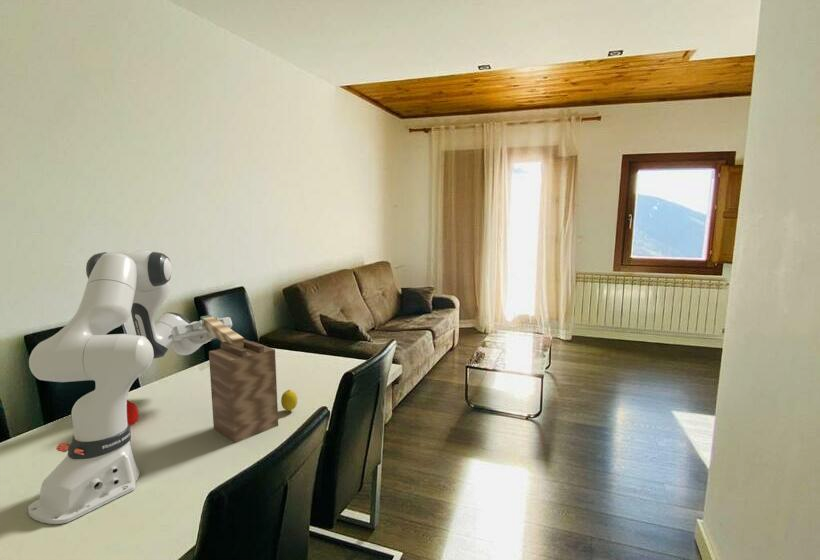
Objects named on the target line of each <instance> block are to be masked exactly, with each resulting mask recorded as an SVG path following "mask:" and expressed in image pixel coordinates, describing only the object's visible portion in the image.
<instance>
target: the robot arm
mask: <svg viewBox="0 0 820 560" xmlns="http://www.w3.org/2000/svg"><path fill="white" fill-rule="evenodd" d="M85 266H86V269H85V272H86V277H87V282H86V285H85V288H84V293H83V296H82V298H81V301H80V304H79V307H78V308H77V311H76V313H75V314H74V315H73V317H72V318H71V319H70V321H68V323H67V324H66V325H65V326H63V328H61V329H60V330H59V331H58V332H56V333H55V334H54V335H52V336H49V337H48V338H46V339H44V340H42V341H40V342H39V343H38V344H37V345H36V346H35V347H33V349H32V350H31V353H30V355H29V359H28V365H29V366H28V367H29V370H30V372H31V374H32V375H33V376H34V377H35V378H36V379H38V380H39V381H45V382H57V383H69V382H84V381H94V382H95V388H94V390H92V391H90V392H88V393H86V394H85V395H82V396H81V397H80V398H79V399H77V400H76V402H75V403H74V405H73V406H72V408H71V420H72V429H73V437H72V439H71V442H70V444H69V443H65V442H63V441H62V442H59V443H58V444H57V446H56V448H55V449H56V451H57V452H62V453H67V455H66V456H65V457H64V458H63V459H62V461H60V463H59V464H58V465H57V466H56V467H55V468H54V469H53V470H52V471H51V473H50V474H48V476H46V477H45V479H44V480H43V481H42V483H41V484H40V485H41V486H40V491H39V498H38V499H36V500H34V501H33V502H31V503H30V504H29V505H28V510H27V512H28V513H27V514H28V515H29V517H32V518H31V519H33V520H34V521H35V520H36V521H37V522H40V523H44V524H49V525H61V524H66V523H70V522H72V521H73V520H75V519H78V518H79V517H82V516H84V515H86V514H88V513H90V512H92V511H94V510H97V509H98V508H101V507H102V506H104V505H106V504H109V503H110V502H112V501H115V500H116V499H118V498H120V497H122V496H124V495H126V494H129V493H131V492H133V491H134V490H135V489H136V488H137V486H136V482H137V480H138V479H139V478H140V474H141V473H140V469H139V468H138V465H137V464H136V461H135V458H134V454H133V451H132V446H131V439H132V434H131V426H130V425H129V424H128V423H127V400H128V395H129V391H130V390H131V389H130V388H131V387H132V385H133V384H134V382H135V381H136V380H137V379H138V378H139V377H140V376H141V375H142V374H144V373H145V372H146V371H148V369H149V367H151V364H152V363H153V359H159V358H162V357H164V356H165V355H166V354H167V352H168V351H169V349H170V348H171V347H172V349H173V351H174V352H175V354H177V355H179V356H189V355H191V354H193V353H195V352H196V351H198V350H199V349H200V348H201V346H203V345H204V344H205V345H206V344H207V343H208V342H211V341H214V340H218V339H217V338H216V337H215V336H213V335H212V334H211V333H209V332H208V331H207V330H205V329H204V328H203V327H201V326H204V325H205V320H200V319H199V321H197V320H196V321H192V322H191V321H190V320H189V319H188V318H187V317H185V316H184V315H182V314H181V313H179V312H174V311H173V312H171V311H169V312H164V313H163V314H162V315H161V316H160V317H159V318H158V319H157V320H156V321H155V322H154V320H155V316H156V314H157V312H158V310H159V309H160V308H161V306H162V305H163V304H164V302H165V300H166V299H167V297H168V296H169V294H170V293H171V292H170V291H171V281H170V280H171V277H172V273H173V266H172V263H171V260H170V258H169V257H168V256H167V255H166V254H165V253H161V252H157V251H150V250H149V249H148V250H146V249H140V250H136V251H129V250H126V251H125V250H124V251H113V252H112V251H111V252H106V251H105V252H99V253H98V252H97V253H94V254H93V255H92V256H91V257H89V259H88V260H87V261H86V265H85ZM130 317H131V319H132V323H133V327H134V330H135V334H129V333H114V334H113V333H112V334H108V333H110V332H111V331H113V330H115V329H116V328H117V329H118V328H120V327H121V326H122V325H124V324H125V323H126V322H128V320H129V318H130ZM215 318H216V319H217V320H218V321H220V322H221V323H223V324H224V325H226V326H227V327H229V328H230V329H232V327H233V321H232V319H231V317H229V316H226V317H222V318H221V317H220V318H219V316H218V317H215Z"/></svg>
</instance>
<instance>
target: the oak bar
mask: <svg viewBox="0 0 820 560" xmlns="http://www.w3.org/2000/svg"><path fill="white" fill-rule="evenodd" d="M216 318H217V317H214V316H213V315H212V314H209V315H208V314H207V315H203V316H200V319H199V321H200V320H205V325H204V326H201V327H203V328H204V329H205V330H207V331H208V332H209V333H211V334H212V335H213V336H215V337H216V338H217V339H216V340H219V341H220V342H221V343H222V342H227V343H229V344H232V345H234V346H237V347H240V348H244V339H245V337H243V336H242V335H241V334H239V333H238V332H236V331H234V330H233V329H232V328H229V327H227V326H226V325H224V324H223V323H221V322H220V321H218V320H217V319H216Z"/></svg>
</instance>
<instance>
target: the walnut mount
mask: <svg viewBox="0 0 820 560" xmlns="http://www.w3.org/2000/svg"><path fill="white" fill-rule="evenodd" d="M219 345H220V348H218V349H213V350H209V351H208V358H209V359H208V360H209V374H210V375H209V376H210V391H211V404H212V405H211V407H212V409H211V410H212V421H213V422H212V423H213V429H214V430H215V431H216V432H218V433H220V434H221V435H222V436H224V437H225V438H227V439H228V440H230V441H231V442H232V443H233V444H236V443H238V442H241V441H244V440H245V439H249V438H251V437H253V436H257V435H259V434H261V433H263V432H266V431H268V430H270V429H273V428H276V427H277V426H279V415H278V412H279V411H278V388H277V369H276V368H277V367H276V366H277V362H276V349H275V348H272V347H270V346H269V347H268V345H264V344H260V343H258V342H255V341H252V340H248V339H245V338H244V348H240V347H237V346H234V345H232V344H229V343H227V342H222V341H221V342H220V343H219Z"/></svg>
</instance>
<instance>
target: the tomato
mask: <svg viewBox="0 0 820 560" xmlns="http://www.w3.org/2000/svg"><path fill="white" fill-rule="evenodd" d="M139 416H140V414H139V409H138V407H137V406H136V404H135V403H134V402H133V401H132V402H131V401H130V400H128V399H127V423H128V424H129V425H130V427H132V426H133V425H136V423H137V422H138V421H139Z"/></svg>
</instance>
